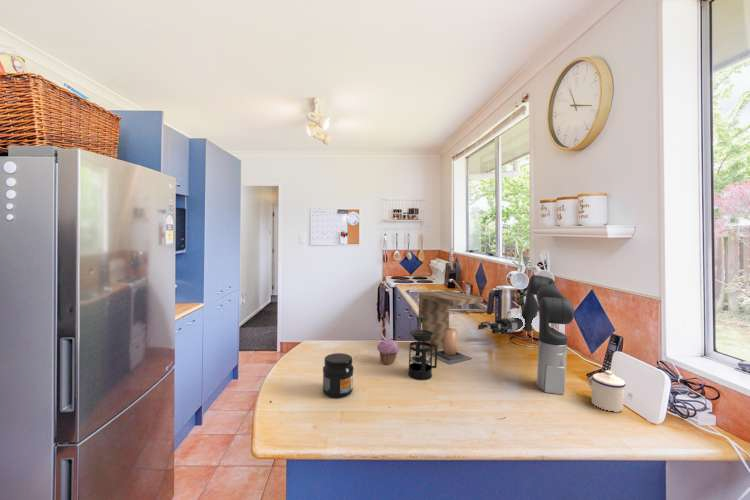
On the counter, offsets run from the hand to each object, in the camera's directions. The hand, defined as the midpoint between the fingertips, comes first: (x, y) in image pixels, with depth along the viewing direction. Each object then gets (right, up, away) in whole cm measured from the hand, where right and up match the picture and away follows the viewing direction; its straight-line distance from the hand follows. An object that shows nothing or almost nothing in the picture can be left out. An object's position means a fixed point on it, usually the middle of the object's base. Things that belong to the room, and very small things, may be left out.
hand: (485, 329), depth 166 cm
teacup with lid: (+22, -13, -53) cm, 59 cm away
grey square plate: (-20, -10, -12) cm, 26 cm away
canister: (-20, -9, -12) cm, 26 cm away
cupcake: (-49, -9, -22) cm, 54 cm away
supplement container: (-67, -10, -49) cm, 84 cm away
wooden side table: (-20, -10, -12) cm, 26 cm away
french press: (-36, -10, -34) cm, 51 cm away
